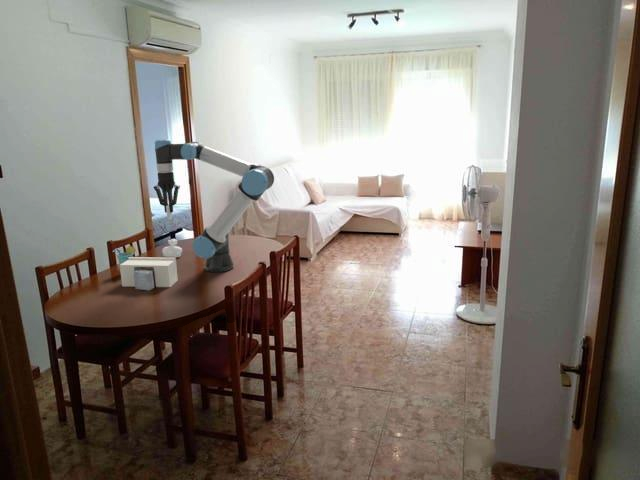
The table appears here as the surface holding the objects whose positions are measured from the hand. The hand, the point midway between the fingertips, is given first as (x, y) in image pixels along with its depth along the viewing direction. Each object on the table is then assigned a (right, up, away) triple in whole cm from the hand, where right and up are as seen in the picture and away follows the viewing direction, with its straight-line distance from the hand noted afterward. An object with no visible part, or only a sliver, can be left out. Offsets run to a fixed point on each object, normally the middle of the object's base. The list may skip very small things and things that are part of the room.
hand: (169, 218), depth 251 cm
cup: (-25, -29, +9) cm, 39 cm away
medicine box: (-8, -34, -13) cm, 37 cm away
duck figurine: (-10, -20, +41) cm, 47 cm away
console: (-8, -32, -5) cm, 33 cm away
